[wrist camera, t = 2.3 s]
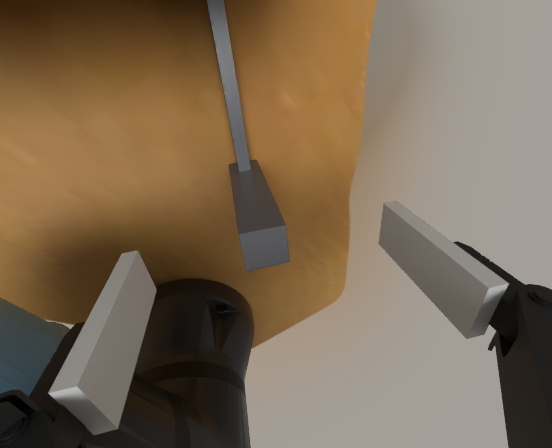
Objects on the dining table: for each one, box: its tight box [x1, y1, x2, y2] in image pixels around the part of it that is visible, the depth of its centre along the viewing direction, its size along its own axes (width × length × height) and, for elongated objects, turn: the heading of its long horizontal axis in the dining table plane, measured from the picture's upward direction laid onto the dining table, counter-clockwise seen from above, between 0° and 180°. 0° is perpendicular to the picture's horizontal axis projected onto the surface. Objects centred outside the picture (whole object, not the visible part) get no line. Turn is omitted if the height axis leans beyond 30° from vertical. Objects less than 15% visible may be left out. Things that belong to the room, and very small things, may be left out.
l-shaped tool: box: [206, 0, 290, 271], centre depth 15 cm, size 18×2×12 cm, turn 7°
